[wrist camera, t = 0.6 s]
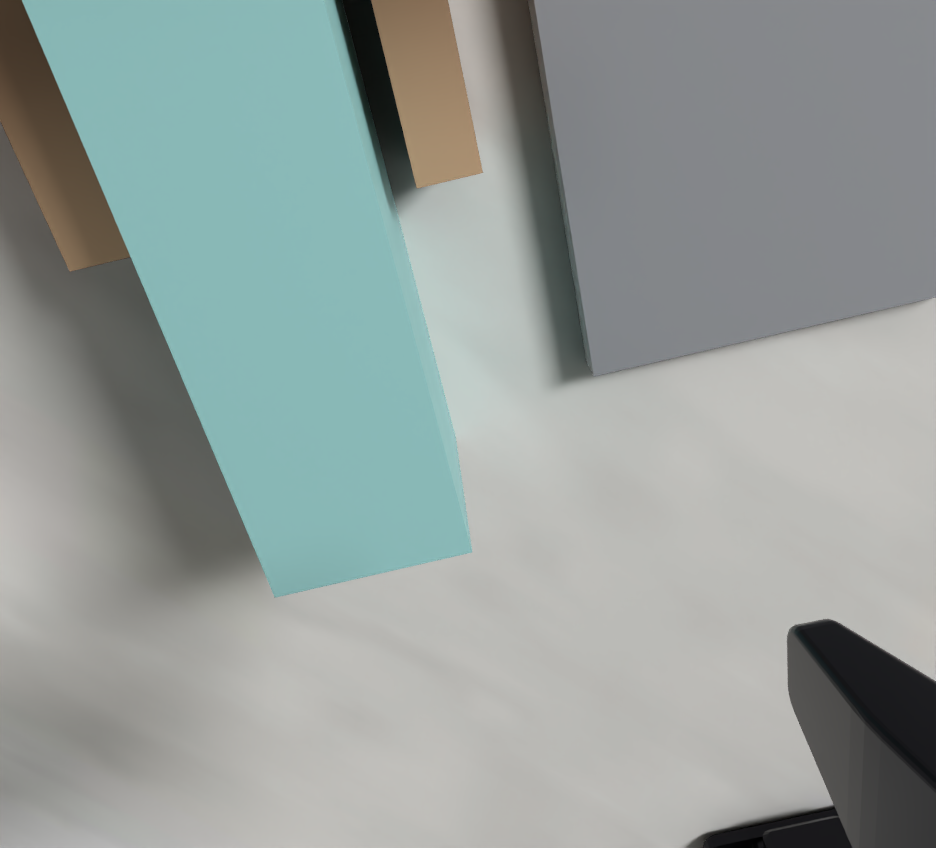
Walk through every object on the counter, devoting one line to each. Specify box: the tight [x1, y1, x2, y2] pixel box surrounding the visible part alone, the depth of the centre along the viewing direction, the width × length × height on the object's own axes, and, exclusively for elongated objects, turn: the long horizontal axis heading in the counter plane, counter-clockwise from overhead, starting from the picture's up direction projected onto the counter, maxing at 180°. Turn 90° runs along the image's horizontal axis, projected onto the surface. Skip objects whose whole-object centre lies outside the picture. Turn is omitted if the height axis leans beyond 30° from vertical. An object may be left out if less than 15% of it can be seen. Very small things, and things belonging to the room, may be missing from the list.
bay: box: [0, 0, 483, 272], centre depth 13 cm, size 7×8×7 cm
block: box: [22, 0, 472, 597], centre depth 16 cm, size 12×4×5 cm, turn 12°
